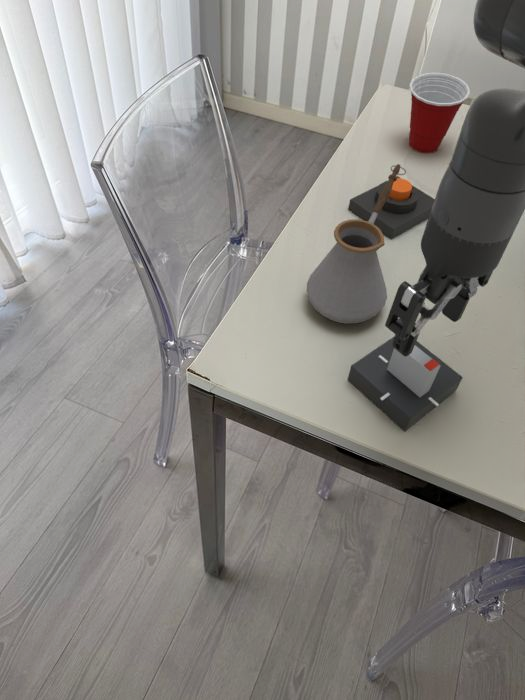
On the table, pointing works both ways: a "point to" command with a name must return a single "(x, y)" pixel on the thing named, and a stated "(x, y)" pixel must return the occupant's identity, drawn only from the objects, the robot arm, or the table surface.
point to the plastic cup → (434, 108)
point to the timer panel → (400, 386)
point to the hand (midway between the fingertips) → (426, 333)
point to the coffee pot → (352, 269)
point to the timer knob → (414, 370)
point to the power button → (400, 190)
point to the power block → (393, 210)
